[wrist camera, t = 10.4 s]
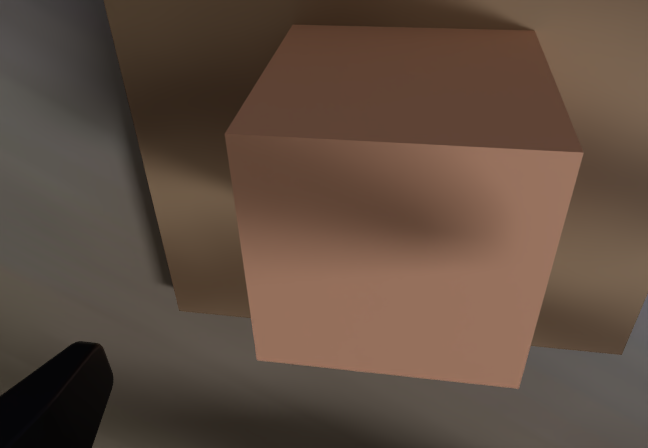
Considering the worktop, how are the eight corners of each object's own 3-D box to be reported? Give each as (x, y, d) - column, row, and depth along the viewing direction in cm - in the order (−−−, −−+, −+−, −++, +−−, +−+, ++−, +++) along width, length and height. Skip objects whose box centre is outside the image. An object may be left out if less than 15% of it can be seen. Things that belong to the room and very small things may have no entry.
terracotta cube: (497, 227, 18) (518, 388, 13) (303, 213, 18) (257, 360, 14) (534, 30, 14) (584, 152, 9) (292, 24, 15) (224, 133, 10)
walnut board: (614, 333, 21) (621, 354, 20) (188, 292, 23) (179, 310, 22) (841, -238, 11) (872, -241, 10) (74, -212, 13) (52, -212, 13)
